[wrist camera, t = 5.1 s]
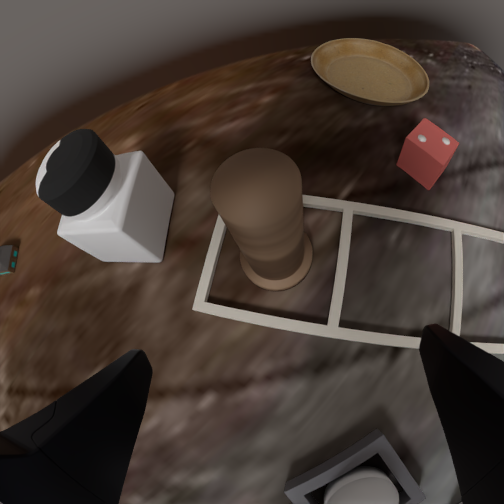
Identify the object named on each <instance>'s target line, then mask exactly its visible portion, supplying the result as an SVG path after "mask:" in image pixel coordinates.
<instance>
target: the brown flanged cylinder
mask: <svg viewBox="0 0 504 504" xmlns="http://www.w3.org/2000/svg"><path fill="white" fill-rule="evenodd" d="M210 196H211V200H212V203H213V205H214V207H215V208H216V210H217V212H218V213H219V215H220V217H221V218H222V220H223V222H224V223H225V225H226V227H227V228H228V230H229V232H230V233H231V235H232V237H233V238H234V240H235V242H236V243H237V245H238V247H239V248H240V262H241V266H242V268H243V270H244V272H245V274H246V275H247V276H248V278H249V279H250V280H251V281H252V282H253V283H254V284H255V285H257V286H258V287H260V288H262V289H265V290H269V291H284V290H287V289H290V288H292V287H294V286H296V285H298V284H299V283H300V282H301V281H302V280H303V279H304V278H305V277H306V275H307V274H308V272H309V270H310V267H311V264H312V245H311V242H310V239H309V237H308V235H307V234H306V233H305V231H304V219H303V196H302V179H301V174H300V171H299V169H298V167H297V165H296V164H295V162H294V161H293V160H292V159H291V158H290V157H288V156H287V155H285V154H284V153H282V152H280V151H277V150H274V149H269V148H252V149H247V150H244V151H241V152H238V153H236V154H234V155H232V156H231V157H229V158H228V159H227V160H225V161H224V162H223V163H222V164H221V165H220V166H219V168H218V169H217V170H216V172H215V174H214V176H213V178H212V181H211V185H210Z"/></svg>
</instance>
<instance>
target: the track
mask: <svg viewBox="0 0 504 504" xmlns="http://www.w3.org/2000/svg"><path fill="white" fill-rule="evenodd" d="M302 196H303V207H310V208H317V209H324V210H331V211H338V212H343V216H342V226H341V235H340V243H339V251H338V259H337V266H336V273H335V280H334V287H333V293H332V299H331V305H330V311H329V317H328V323H327V325H321V324H315V323H309V322H303V321H297V320H292V319H286V318H281V317H275V316H270V315H265V314H260V313H255V312H250V311H245V310H240V309H235V308H230V307H226V306H221V305H216V304H212V303H207V300H208V296H209V292H210V288H211V284H212V280H213V277H214V273H215V269H216V265H217V261H218V258H219V254H220V250H221V247H222V243H223V239H224V236H225V232H226V228H227V227H226V225H225V223H224V222H223V220H222V218H221V217H220V215H218V219H217V222H216V225H215V229H214V232H213V236H212V239H211V243H210V246H209V250H208V253H207V257H206V260H205V264H204V268H203V271H202V275H201V279H200V282H199V286H198V290H197V294H196V297H195V301H194V305H193V310H195V311H199V312H203V313H207V314H211V315H216V316H220V317H224V318H229V319H233V320H238V321H243V322H247V323H252V324H257V325H262V326H267V327H272V328H277V329H282V330H288V331H293V332H299V333H305V334H310V335H316V336H323V337H329V338H335V339H342V340H349V341H356V342H363V343H371V344H379V345H387V346H396V347H405V348H415V349H419V346H420V341H421V338H418V337H408V336H400V335H391V334H383V333H375V332H368V331H361V330H354V329H347V328H340V327H338V325H339V319H340V313H341V307H342V301H343V294H344V288H345V280H346V273H347V265H348V257H349V248H350V238H351V228H352V217H353V214H358V215H364V216H370V217H376V218H382V219H388V220H394V221H399V222H405V223H410V224H416V225H421V226H426V227H431V228H436V229H441V230H446V231H451V236H452V301H451V316H450V328H449V331H451V332H452V333H454V334H456V335H458V336H460V328H461V315H462V296H463V254H462V235H461V234H465V235H470V236H474V237H479V238H483V239H487V240H492V241H496V242H500V243H504V233H503V232H499V231H495V230H491V229H487V228H483V227H479V226H475V225H471V224H466V223H462V222H458V221H453V220H449V219H444V218H439V217H435V216H430V215H425V214H420V213H415V212H409V211H404V210H399V209H393V208H387V207H382V206H376V205H370V204H364V203H357V202H351V201H344V200H338V199H331V198H323V197H316V196H308V195H302ZM470 343H472V344H474V345H476V346H477V347H479V348H481V349H483V350H484V351H486V352H488V353H493V354H504V344H495V343H477V342H470Z"/></svg>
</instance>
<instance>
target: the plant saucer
mask: <svg viewBox="0 0 504 504" xmlns="http://www.w3.org/2000/svg"><path fill="white" fill-rule="evenodd" d="M311 64H312V67H313V69H314V71H315V72H316V73H317V74H318V76H319V77H320V78H321V79H322V80H323V81H324V82H326V83H327V84H328V85H329V86H330V87H332V88H333V89H335V90H336V91H338V92H339V93H341V94H343V95H344V96H346V97H348V98H350V99H353V100H355V101H358V102H361V103H365V104H369V105H375V106H397V105H403V104H407V103H410V102H413V101H415V100H417V99H419V98H421V97H423V96H424V95H425V94H426V93H427V91H428V89H429V79H428V76H427V74H426V72H425V71H424V69H423V68H422V67H421V65H420V64H419V63H418V62H416V61H415V60H414V59H413V58H412V57H410V56H409V55H407V54H405V53H404V52H402V51H400V50H399V49H396V48H394V47H392V46H389V45H387V44H384V43H380V42H377V41H372V40H366V39H358V38H346V39H338V40H333V41H330V42H327V43H324V44H322V45H321V46H319V47H318V48H317V49H316V50H315V51H314V52H313V54H312V56H311Z"/></svg>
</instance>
